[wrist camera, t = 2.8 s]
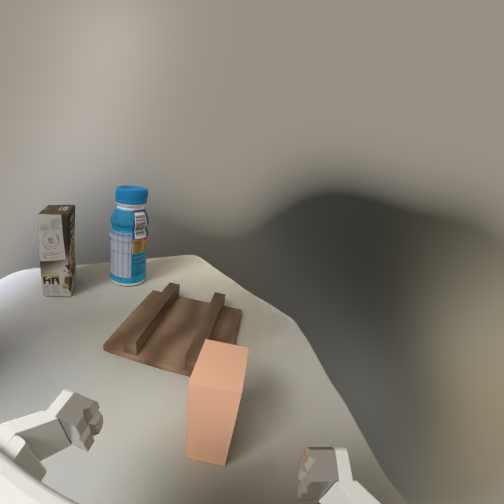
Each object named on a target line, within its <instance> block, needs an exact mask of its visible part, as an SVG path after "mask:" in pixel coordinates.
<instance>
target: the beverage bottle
mask: <svg viewBox="0 0 504 504" xmlns="http://www.w3.org/2000/svg"><path fill="white" fill-rule="evenodd" d="M147 196H148V189H147V188H144V187H138V186H119V187H117V189H116V196H115V197H116V198H115V201H116V204H118V206H117V207H116V209H115V210H114V212H113V214H112V216H111V223H112V227H111V228H110V233H109V235H110V279H111V280H112V281H113V282H114V283H116V284H118V285H122V286H135V285H138V284H141V283H142V282H143V281H144V280H145V269H146V249H147V238H148V229H147V225H148V223H149V220H148V215H147V213H146V211H145V209H144V207H143V206H144V205H146V203H147Z"/></svg>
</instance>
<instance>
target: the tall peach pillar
mask: <svg viewBox="0 0 504 504" xmlns="http://www.w3.org/2000/svg"><path fill="white" fill-rule="evenodd" d="M248 352H249V348H248V347H243V346H237V345H232V344H227V343H222V342H218V341H213V340H208V339H205V342H204V344H203V347H202V349H201V352H200V354H199V357H198V359H197V362H196V364H195V367H194V369H193V372H192V374H191V377H190V379H189V382H188V403H187V431H186V458H188V459H192V460H196V461H201V462H205V463H210V464H215V465H220V466H225V463H226V459H227V455H228V451H229V447H230V442H231V438H232V434H233V430H234V425H235V421H236V417H237V413H238V408H239V404H240V400H241V395H242V390H243V383H244V377H245V371H246V365H247V358H248Z"/></svg>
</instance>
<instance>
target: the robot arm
mask: <svg viewBox="0 0 504 504" xmlns="http://www.w3.org/2000/svg"><path fill="white" fill-rule="evenodd" d="M99 408H100V407H99V404H98V402H96V401H94V400H91V399H89V398H87V397H85V396H82V395H80V394H78V393H76V392H74V391H72V390H70V389H67V388H66V389H64V390H63V391H62V392H61V393H60V395H59V396H58V397H57V398H56V399H55V401H54V402H53V403H52V404H51V405H50V407H49V408H48V409H47V410H46V411H44V410H42V411H39V412H36V413H33V414H30V415H27V416H23V417H20V418H17V419H14V420H10V421H7V422H3V423H2V424H1V425H0V504H79V503H77V502H75V501H73V500H71V499H70V498H68V497H66V496H64V495H62V494H61V493H59V492H57V491H56V490H54V489H52V488H51V487H49V486H47V485H46V484H44V483H43V482H41V481H42V479H43V477H44V476H45V474H46V469H45V467H44V466H43V465H42V464H41V462H40V461H41V460H43V459H45V458H47V457H49V456H51V455H53V454H55V453H57V452H59V451H61V450H63V449H65V448H67V447H68V446H70V445H71V444H72V445H74V446H76V447H79V448H81V449H83V450H85V451H87V452H88V451H89V449H90V447H91V446H92V444H93V442H94V437H93V436H94V435H97V434H99V432H100V431H101V429H102V425H103V416H102V414H101V413H100V412H99V411H98V409H99ZM297 478H298V479H299V480H300V481H301V482H300V483H299V485H298V486H297V493H298V500H319V502H320V504H381V503H380V502H379V501H378V500H377V499H375V498H374V497H373V496H372V495H371V494H370V493H369V492H368V491H367V490H366V489H365V488H364V487H363V486H362V485H361V484H360V483H359V482H358V481H353V477H352V471H351V466H350V461H349V456H348V450H347V449H346V448H345V447H340V448H332V447H308V448H306V450H305V451H304V456H303V457H301V459H300V461H299V464H298V468H297Z"/></svg>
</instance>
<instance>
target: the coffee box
mask: <svg viewBox="0 0 504 504" xmlns="http://www.w3.org/2000/svg"><path fill="white" fill-rule="evenodd" d="M38 232H39V233H38V235H39V254H40V266H41V277H42V285H43V294H44V296H64V297H70V296H71V295H72V291H73V288H74V284H75V280H76V263H75V205H49V206H47V207H46V208H45V209H44V210H42V211H41V212H40V213H39V214H38Z"/></svg>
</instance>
